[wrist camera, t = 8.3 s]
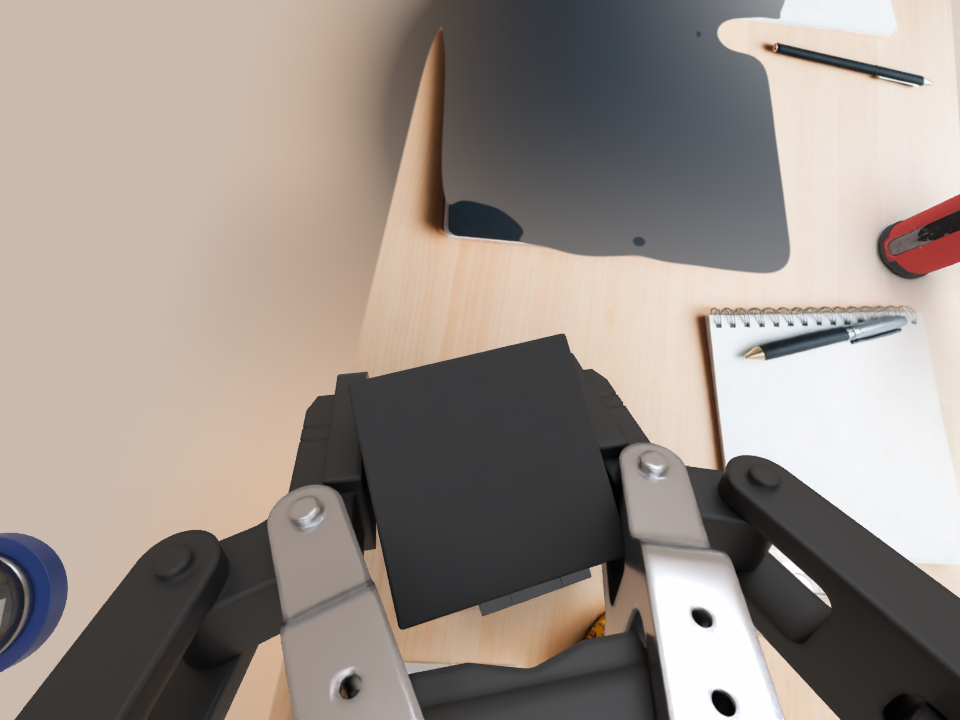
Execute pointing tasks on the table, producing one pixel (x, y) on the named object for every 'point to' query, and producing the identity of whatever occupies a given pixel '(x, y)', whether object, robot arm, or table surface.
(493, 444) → the post
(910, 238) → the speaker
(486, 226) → the table surface
